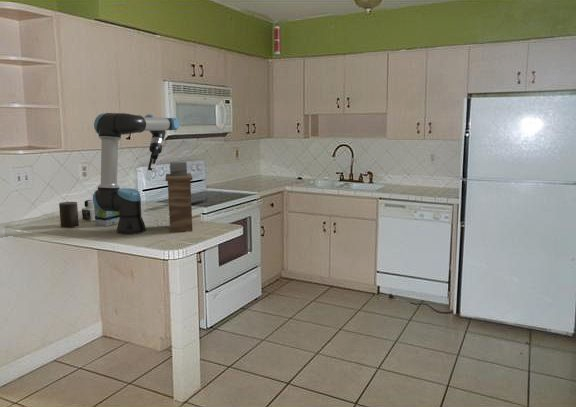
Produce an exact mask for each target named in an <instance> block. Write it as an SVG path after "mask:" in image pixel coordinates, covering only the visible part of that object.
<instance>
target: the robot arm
mask: <svg viewBox="0 0 576 407" xmlns="http://www.w3.org/2000/svg"><path fill="white" fill-rule="evenodd" d="M93 127H94V128H93V129H94V130H95V131H94V132H95V133H97V134H98V139H100V140H101V143H100V144H101V148H100V150H101V152H100V157H101V158H100V184H99V185H97V189H96V190H95V191H94V192H93V194H92V200H93V203H94V205H95V207H96V208H97V209H98V210H102V211H114V212H119V222H118V223H117V227H116V233H117V232H118V233H117V234H120V233H121V234H120V235H135V234H134V233H136V234H140V233H139V232H141V233H144V232H145V231H146V230H147V229H146V224H145V221H144V219H143V216H142V203H141V202H142V201H141V200H142V198H141V193H140V191H139V190H138V189H136V188H131V187H130V188H129V187H128V188H127V187H124V188H123V187H122V188H121V187H120V186H119V185H118V164H119V163H118V161H119V160H118V157H119V156H118V155H119V154H118V153H119V150H118V148H119V141H120V140H121V139H122V136H123V135H131V134H137V133H138V134H139V133H143V132H147V131H148V132H150V134H151V140H150V144H149V148H148V149H149V152H150V158H149V162H148V166H147V171H146V174H145V180H149V181H150V180H151V177H152V173H153V172H154V171H153V170H156V166H157V162H158V157H159V155H160V154H161V153H162V152H163V151H162V150H163V145H164V144H165V143H164V140H165V135H166V131H178V130H179V129H180V121H179V119H178V118H176V117H155V116H154V115H153V114H152V113H151V114H149V113H148V114H146V115H145V116H142V115H140V114H139V115H138V114H132V113H125V112H105V113H100V114H98V115H97V116H96V118H95V119H94V122H93ZM143 231H144V232H143Z"/></svg>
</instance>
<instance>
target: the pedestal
mask: <svg viewBox="0 0 576 407" xmlns="http://www.w3.org/2000/svg"><path fill="white" fill-rule="evenodd" d="M191 181H193V176H192V173H190V172H187V175H184V176H170V173H166V174H165V182H167V194H168V195H167V196H168V197H167V198H168V212H169V214H168V216H169V232H170V233H183V232H186V231H188V232H193V212H192V191H191V190H192V189H191V188H192V187H191V185H192V184H191Z"/></svg>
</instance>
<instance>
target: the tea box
mask: <svg viewBox="0 0 576 407" xmlns="http://www.w3.org/2000/svg"><path fill="white" fill-rule="evenodd" d="M94 212H95V220H94V225H96V226H102V227H108V226H109V227H110V226H113V225H116V224H117V225H118V222H119V212H114V211H102V210H98V209H97V208H96V207H95V205H94Z"/></svg>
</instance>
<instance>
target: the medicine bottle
mask: <svg viewBox="0 0 576 407" xmlns="http://www.w3.org/2000/svg"><path fill="white" fill-rule="evenodd" d="M83 203H84V208H81V218H82V221H87V222H93V221H94V222H95V212H94V203H93V199H87V200H84V202H83Z"/></svg>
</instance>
